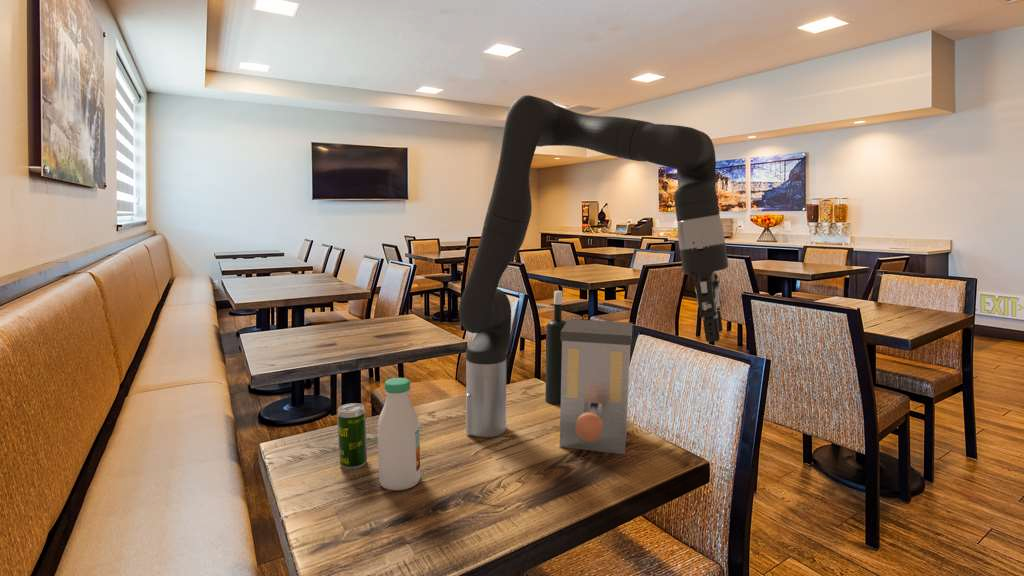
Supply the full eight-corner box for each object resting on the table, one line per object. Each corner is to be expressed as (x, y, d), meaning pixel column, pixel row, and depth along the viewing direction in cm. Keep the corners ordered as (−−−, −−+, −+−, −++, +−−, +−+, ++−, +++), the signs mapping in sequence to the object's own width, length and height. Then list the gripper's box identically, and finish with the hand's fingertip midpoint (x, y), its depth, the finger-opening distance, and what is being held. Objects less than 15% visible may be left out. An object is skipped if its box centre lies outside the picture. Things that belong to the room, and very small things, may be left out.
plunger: (601, 442, 106) (602, 417, 105) (575, 439, 107) (575, 414, 106) (606, 415, 119) (607, 393, 118) (582, 413, 120) (583, 391, 120)
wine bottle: (568, 398, 148) (571, 289, 143) (564, 405, 142) (567, 293, 138) (547, 395, 149) (549, 288, 145) (543, 403, 144) (545, 292, 139)
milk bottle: (411, 494, 99) (408, 389, 96) (372, 489, 100) (368, 386, 97) (426, 473, 106) (424, 375, 103) (389, 469, 108) (386, 373, 105)
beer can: (357, 455, 114) (355, 400, 112) (372, 463, 110) (370, 407, 108) (334, 464, 110) (331, 408, 108) (349, 473, 106) (347, 415, 104)
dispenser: (626, 455, 115) (631, 335, 110) (558, 447, 118) (560, 331, 114) (627, 431, 127) (632, 322, 123) (566, 424, 130) (568, 319, 126)
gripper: (684, 246, 102) (696, 331, 102) (674, 249, 89) (687, 346, 89) (727, 239, 98) (739, 327, 99) (722, 242, 86) (736, 342, 86)
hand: (714, 336), depth 94 cm, fingers open, 8 cm apart
